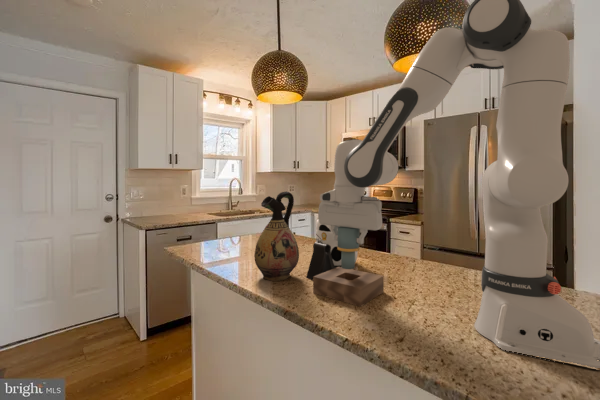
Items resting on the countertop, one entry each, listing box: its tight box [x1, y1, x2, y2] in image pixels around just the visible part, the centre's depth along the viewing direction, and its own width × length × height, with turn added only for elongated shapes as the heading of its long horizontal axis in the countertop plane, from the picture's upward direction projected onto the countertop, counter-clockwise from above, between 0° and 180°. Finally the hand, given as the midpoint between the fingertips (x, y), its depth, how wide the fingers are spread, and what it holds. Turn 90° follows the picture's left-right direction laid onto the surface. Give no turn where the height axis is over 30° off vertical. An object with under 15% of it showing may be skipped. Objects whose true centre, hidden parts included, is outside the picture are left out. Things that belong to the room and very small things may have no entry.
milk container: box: [315, 218, 358, 268], centre depth 126 cm, size 17×17×18 cm
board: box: [312, 267, 385, 307], centre depth 95 cm, size 16×14×5 cm
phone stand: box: [306, 241, 336, 281], centre depth 110 cm, size 9×6×12 cm, turn 126°
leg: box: [337, 226, 360, 270], centre depth 94 cm, size 6×6×12 cm
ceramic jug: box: [253, 191, 300, 282], centre depth 110 cm, size 17×15×30 cm
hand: (348, 242), depth 94 cm, fingers closed on leg, 6 cm apart
